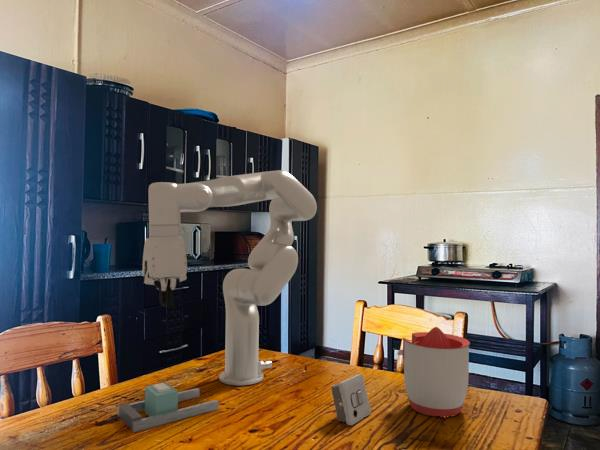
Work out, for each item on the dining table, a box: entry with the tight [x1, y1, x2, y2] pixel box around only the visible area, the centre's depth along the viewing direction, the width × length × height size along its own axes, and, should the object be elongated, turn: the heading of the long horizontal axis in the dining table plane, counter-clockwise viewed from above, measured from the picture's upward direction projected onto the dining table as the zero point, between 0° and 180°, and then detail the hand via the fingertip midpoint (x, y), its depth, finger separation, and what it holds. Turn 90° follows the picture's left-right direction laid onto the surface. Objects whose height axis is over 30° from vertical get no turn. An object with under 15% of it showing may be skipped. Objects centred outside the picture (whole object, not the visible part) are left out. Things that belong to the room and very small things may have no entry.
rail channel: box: [117, 387, 219, 433], centre depth 105 cm, size 20×11×2 cm, turn 129°
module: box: [144, 381, 179, 417], centre depth 104 cm, size 5×7×7 cm
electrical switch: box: [330, 373, 372, 426], centre depth 104 cm, size 9×5×9 cm, turn 141°
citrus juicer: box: [396, 326, 471, 418], centre depth 110 cm, size 16×17×20 cm
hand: (166, 305), depth 112 cm, fingers closed
